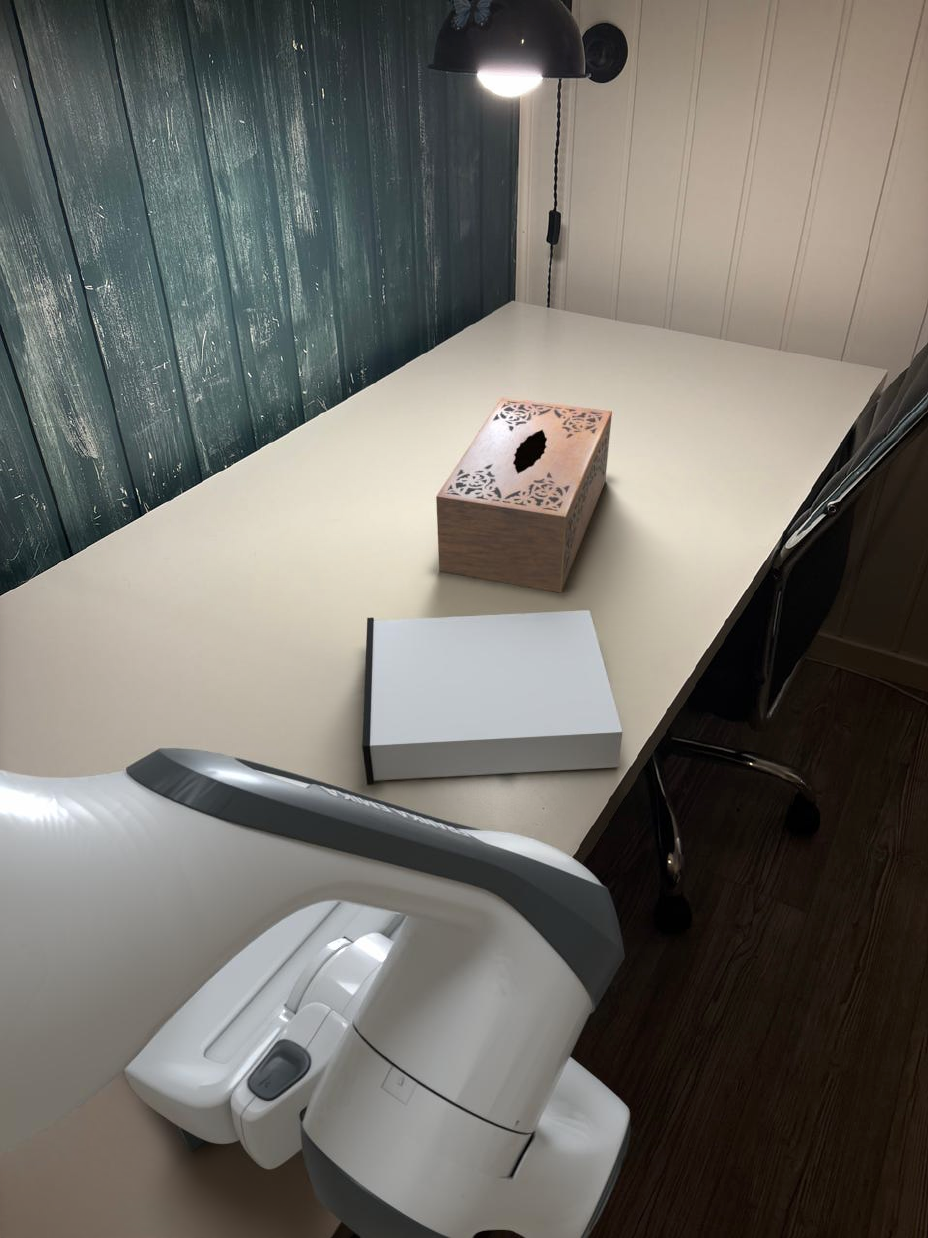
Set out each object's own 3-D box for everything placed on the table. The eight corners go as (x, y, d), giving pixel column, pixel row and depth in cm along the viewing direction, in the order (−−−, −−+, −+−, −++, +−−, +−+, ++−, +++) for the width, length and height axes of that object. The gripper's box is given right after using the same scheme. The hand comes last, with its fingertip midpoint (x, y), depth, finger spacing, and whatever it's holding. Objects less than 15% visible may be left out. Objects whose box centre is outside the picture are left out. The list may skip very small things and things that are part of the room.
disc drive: (369, 654, 95) (365, 617, 92) (586, 644, 95) (589, 606, 92) (365, 785, 81) (360, 746, 78) (618, 771, 82) (623, 732, 79)
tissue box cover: (501, 465, 125) (501, 397, 119) (605, 480, 122) (611, 411, 115) (439, 570, 106) (436, 496, 100) (560, 592, 103) (565, 516, 96)
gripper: (462, 859, 58) (298, 768, 64) (226, 1149, 45) (49, 999, 51) (464, 917, 62) (309, 826, 68) (247, 1199, 49) (80, 1054, 55)
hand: (196, 902), depth 59 cm, fingers closed on cosmetic box, 7 cm apart
